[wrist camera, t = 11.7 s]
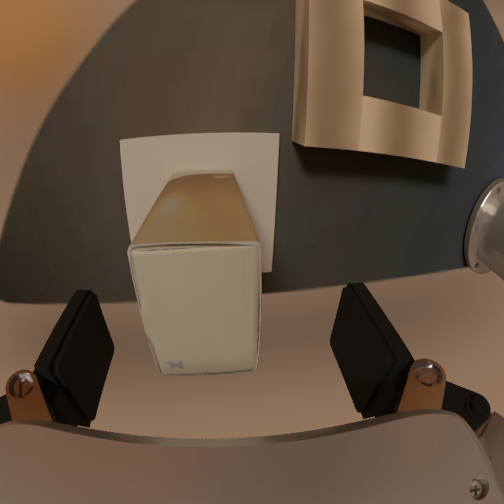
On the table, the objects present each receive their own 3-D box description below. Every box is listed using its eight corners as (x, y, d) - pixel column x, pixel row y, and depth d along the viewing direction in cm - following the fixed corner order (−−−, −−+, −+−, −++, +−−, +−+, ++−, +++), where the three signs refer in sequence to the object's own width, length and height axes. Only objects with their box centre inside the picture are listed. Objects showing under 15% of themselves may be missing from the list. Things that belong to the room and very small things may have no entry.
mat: (278, 133, 19) (279, 133, 19) (270, 269, 24) (271, 271, 24) (121, 139, 18) (119, 140, 17) (138, 275, 23) (137, 277, 22)
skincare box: (234, 247, 22) (259, 377, 12) (177, 250, 22) (159, 382, 11) (233, 164, 19) (267, 241, 9) (170, 167, 19) (122, 248, 8)
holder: (446, 16, 14) (468, 13, 12) (442, 160, 21) (464, 168, 19) (295, -37, 12) (307, -54, 10) (291, 140, 19) (304, 146, 17)
